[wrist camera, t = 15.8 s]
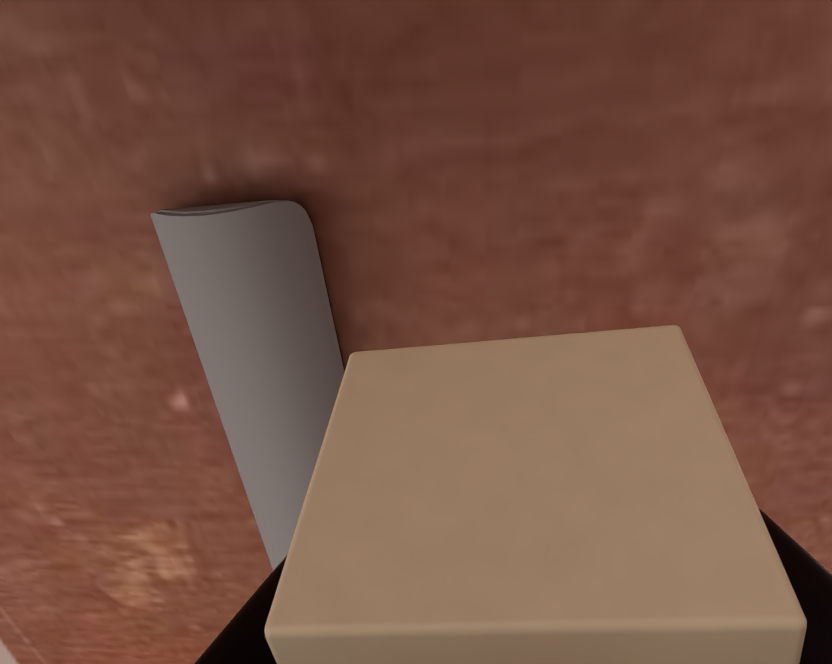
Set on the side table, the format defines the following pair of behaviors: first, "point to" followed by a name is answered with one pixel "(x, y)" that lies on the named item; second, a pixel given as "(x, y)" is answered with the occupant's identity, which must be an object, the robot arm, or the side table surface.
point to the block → (531, 514)
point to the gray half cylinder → (260, 344)
